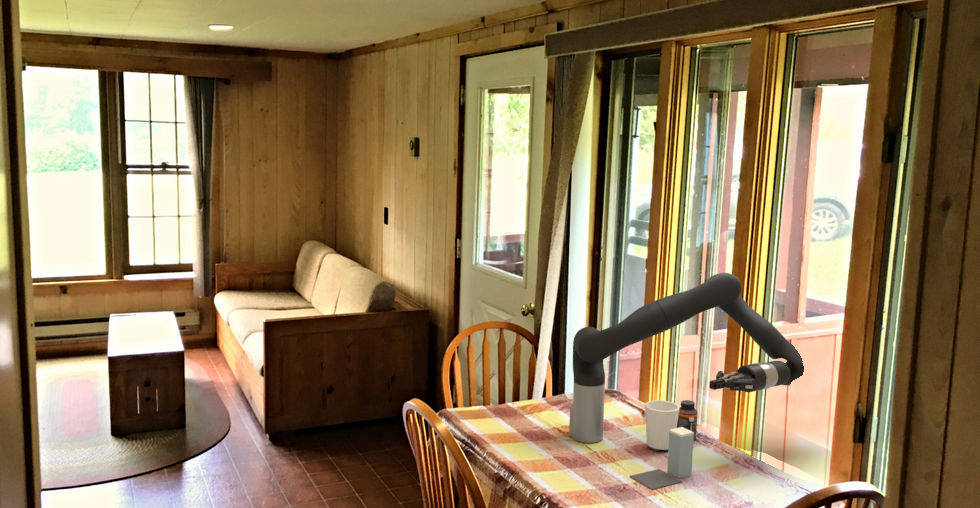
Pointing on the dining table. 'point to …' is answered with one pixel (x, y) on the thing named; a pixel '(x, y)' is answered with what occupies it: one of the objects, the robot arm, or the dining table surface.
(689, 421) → the supplement bottle
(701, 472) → the dining table surface
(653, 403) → the cup
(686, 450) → the block
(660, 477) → the mat
